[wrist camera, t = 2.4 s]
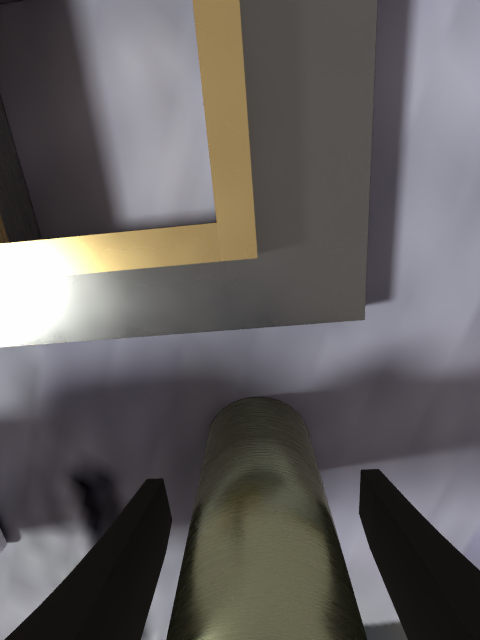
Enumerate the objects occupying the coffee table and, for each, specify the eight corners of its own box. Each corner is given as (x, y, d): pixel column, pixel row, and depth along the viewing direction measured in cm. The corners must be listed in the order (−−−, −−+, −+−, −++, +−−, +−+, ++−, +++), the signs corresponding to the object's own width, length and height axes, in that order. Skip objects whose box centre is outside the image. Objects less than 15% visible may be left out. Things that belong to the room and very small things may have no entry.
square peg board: (-35, 338, 12) (-146, 379, 9) (-224, -131, 8) (-578, -404, 4) (349, 308, 11) (393, 341, 8) (362, -242, 7) (469, -688, 4)
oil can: (214, 481, 14) (147, 958, 5) (202, 400, 12) (73, 852, 3) (309, 477, 14) (428, 976, 4) (307, 393, 12) (473, 868, 3)
